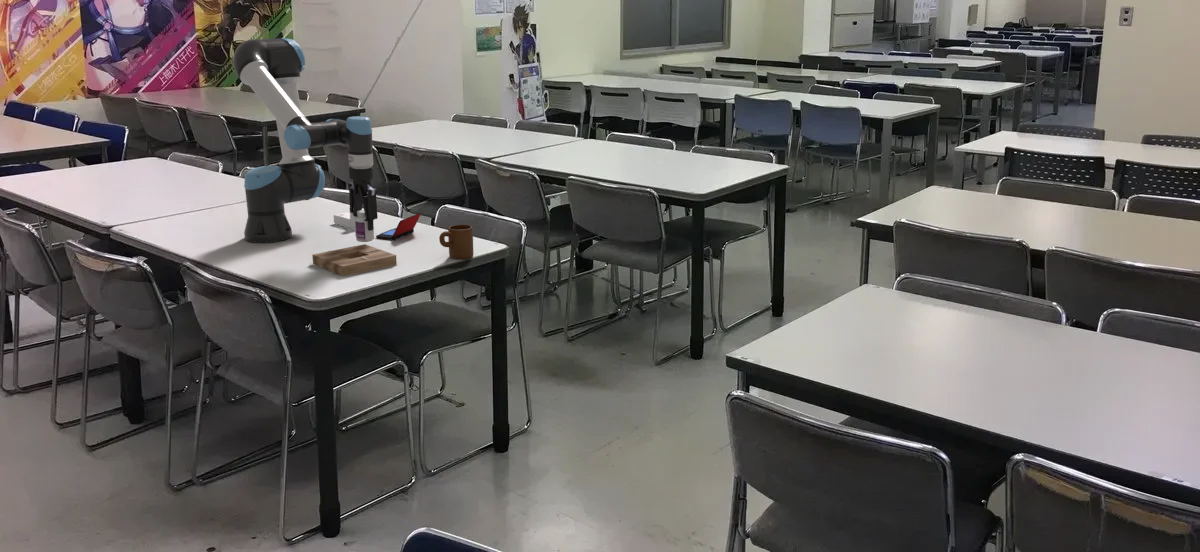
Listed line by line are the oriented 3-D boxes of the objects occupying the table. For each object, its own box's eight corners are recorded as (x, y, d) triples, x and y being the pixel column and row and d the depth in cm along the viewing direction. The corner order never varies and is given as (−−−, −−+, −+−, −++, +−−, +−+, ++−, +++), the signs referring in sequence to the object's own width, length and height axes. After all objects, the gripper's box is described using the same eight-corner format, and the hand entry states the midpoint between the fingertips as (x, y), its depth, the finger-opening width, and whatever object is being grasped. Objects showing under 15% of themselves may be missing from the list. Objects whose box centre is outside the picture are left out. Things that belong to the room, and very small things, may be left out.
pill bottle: (369, 243, 308) (367, 213, 305) (353, 241, 309) (351, 212, 306) (376, 238, 313) (374, 209, 310) (360, 237, 314) (359, 208, 311)
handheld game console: (395, 230, 334) (394, 209, 332) (422, 234, 330) (421, 212, 328) (374, 239, 323) (373, 217, 321) (401, 242, 319) (400, 220, 317)
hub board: (313, 264, 293) (312, 253, 292) (365, 253, 305) (364, 243, 304) (343, 276, 280) (342, 265, 279) (396, 264, 292) (396, 254, 291)
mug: (448, 264, 293) (447, 233, 291) (432, 259, 298) (431, 229, 295) (478, 256, 302) (477, 227, 299) (462, 252, 307) (461, 223, 304)
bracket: (372, 227, 340) (371, 205, 338) (355, 230, 335) (353, 209, 333) (351, 221, 348) (350, 200, 346) (334, 224, 343) (332, 203, 341)
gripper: (335, 163, 308) (339, 233, 315) (365, 172, 295) (369, 245, 302) (356, 160, 313) (360, 230, 320) (387, 169, 300) (390, 241, 307)
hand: (364, 237), depth 311 cm, fingers closed on pill bottle, 5 cm apart
